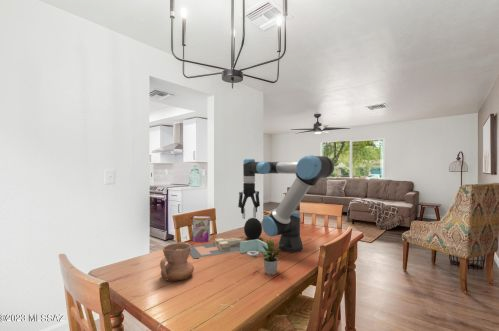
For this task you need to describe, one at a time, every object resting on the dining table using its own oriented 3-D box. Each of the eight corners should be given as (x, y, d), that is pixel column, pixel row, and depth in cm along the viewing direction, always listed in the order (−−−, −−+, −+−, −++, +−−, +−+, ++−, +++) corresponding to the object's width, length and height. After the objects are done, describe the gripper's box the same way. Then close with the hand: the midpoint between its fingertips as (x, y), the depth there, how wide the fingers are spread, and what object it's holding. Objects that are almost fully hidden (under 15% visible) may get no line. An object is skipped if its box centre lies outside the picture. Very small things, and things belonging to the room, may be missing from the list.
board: (252, 249, 157) (252, 248, 157) (194, 259, 141) (194, 258, 141) (238, 240, 177) (238, 239, 177) (184, 247, 161) (184, 247, 161)
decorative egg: (265, 238, 181) (265, 217, 181) (256, 243, 170) (256, 220, 170) (249, 236, 187) (249, 215, 187) (240, 240, 177) (240, 218, 177)
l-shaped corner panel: (240, 254, 150) (240, 241, 150) (258, 251, 156) (258, 239, 156) (249, 261, 140) (249, 247, 140) (268, 258, 145) (268, 244, 145)
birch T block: (245, 248, 159) (245, 241, 159) (222, 251, 152) (222, 244, 152) (235, 241, 172) (235, 235, 172) (213, 244, 166) (213, 238, 166)
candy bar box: (192, 242, 173) (192, 217, 173) (194, 240, 178) (194, 216, 178) (208, 242, 172) (208, 217, 172) (210, 240, 177) (210, 216, 177)
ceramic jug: (180, 267, 130) (179, 239, 130) (202, 273, 122) (201, 243, 122) (149, 281, 115) (148, 249, 115) (172, 289, 107) (171, 255, 107)
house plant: (249, 267, 129) (249, 235, 129) (274, 264, 134) (274, 232, 134) (261, 279, 116) (261, 243, 116) (288, 275, 121) (288, 240, 121)
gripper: (259, 181, 176) (259, 215, 176) (232, 182, 167) (232, 218, 167) (265, 182, 170) (265, 217, 170) (237, 183, 161) (237, 220, 161)
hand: (249, 217), depth 169 cm, fingers open, 7 cm apart
